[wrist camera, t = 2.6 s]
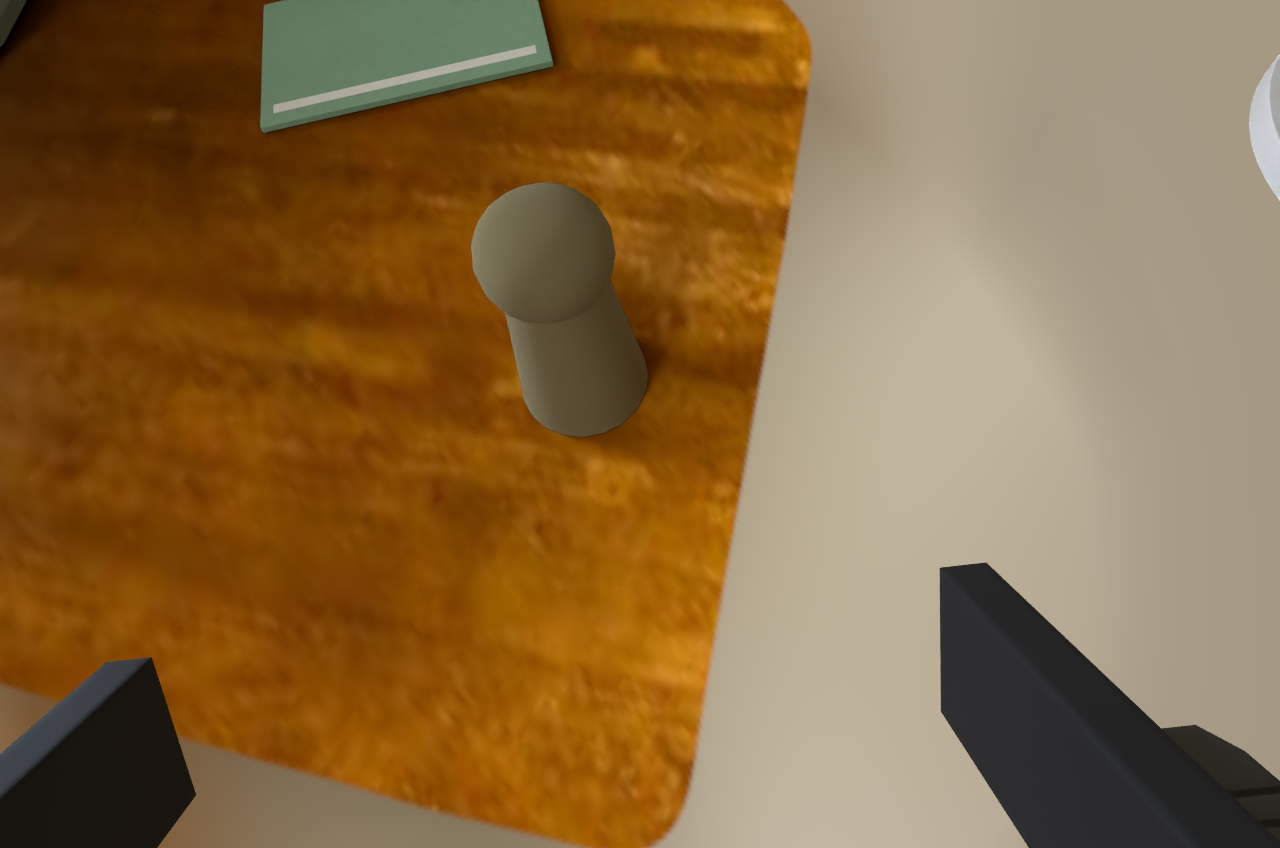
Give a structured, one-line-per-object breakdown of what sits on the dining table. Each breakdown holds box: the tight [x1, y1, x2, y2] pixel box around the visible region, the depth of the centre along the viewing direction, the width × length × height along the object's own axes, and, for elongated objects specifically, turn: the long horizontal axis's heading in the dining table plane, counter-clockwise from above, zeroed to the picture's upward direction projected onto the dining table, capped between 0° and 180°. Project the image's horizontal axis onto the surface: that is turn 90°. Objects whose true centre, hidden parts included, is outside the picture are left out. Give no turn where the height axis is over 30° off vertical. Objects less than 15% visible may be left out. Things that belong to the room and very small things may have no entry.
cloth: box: [260, 0, 554, 133], centre depth 48 cm, size 18×12×1 cm, turn 102°
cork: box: [471, 183, 648, 437], centre depth 31 cm, size 6×6×11 cm
